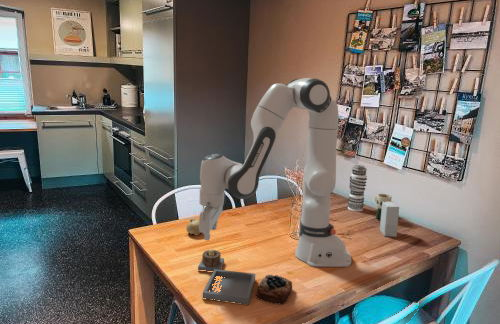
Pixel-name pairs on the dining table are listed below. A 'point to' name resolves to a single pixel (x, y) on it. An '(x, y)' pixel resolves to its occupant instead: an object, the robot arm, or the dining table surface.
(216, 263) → the ring
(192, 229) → the onion
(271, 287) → the pastry
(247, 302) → the tray
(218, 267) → the grey peg stand
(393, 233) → the skincare box
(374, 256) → the dining table surface
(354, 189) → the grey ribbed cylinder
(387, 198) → the character mug
